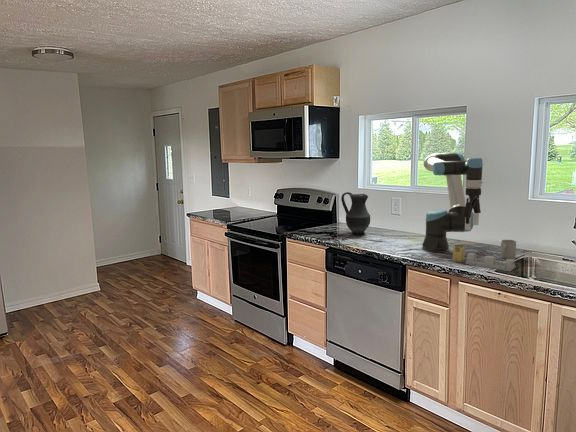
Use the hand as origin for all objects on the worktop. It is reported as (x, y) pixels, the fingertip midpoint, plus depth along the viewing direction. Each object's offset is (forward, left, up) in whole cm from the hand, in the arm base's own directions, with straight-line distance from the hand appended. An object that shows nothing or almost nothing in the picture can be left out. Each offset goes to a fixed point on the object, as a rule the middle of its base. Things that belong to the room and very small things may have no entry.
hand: (471, 227), depth 224 cm
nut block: (-4, -5, -18) cm, 19 cm away
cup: (+14, +16, -18) cm, 28 cm away
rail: (+12, -5, -18) cm, 22 cm away
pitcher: (-86, +18, -18) cm, 90 cm away
